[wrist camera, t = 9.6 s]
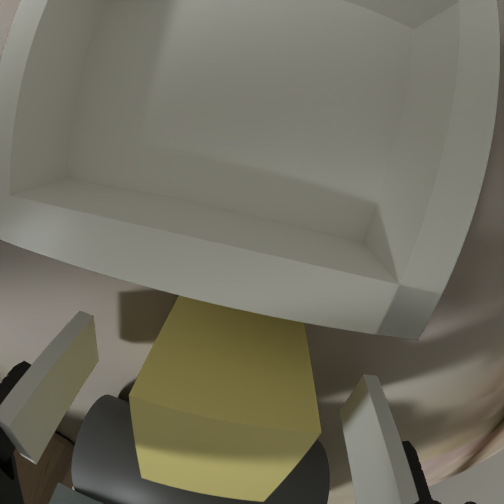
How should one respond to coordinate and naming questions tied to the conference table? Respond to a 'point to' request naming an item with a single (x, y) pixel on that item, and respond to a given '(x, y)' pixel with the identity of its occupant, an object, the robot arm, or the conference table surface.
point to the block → (45, 471)
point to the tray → (253, 148)
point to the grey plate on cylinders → (152, 493)
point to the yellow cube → (224, 401)
